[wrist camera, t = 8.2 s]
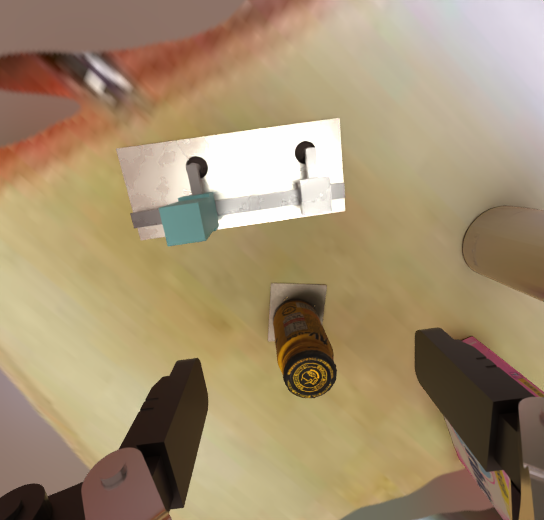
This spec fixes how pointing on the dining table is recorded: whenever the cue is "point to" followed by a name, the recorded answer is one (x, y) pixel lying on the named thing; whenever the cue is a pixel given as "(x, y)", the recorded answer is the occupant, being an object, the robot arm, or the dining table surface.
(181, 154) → the hole plate
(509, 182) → the dining table surface
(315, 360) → the condiment
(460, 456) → the gum box
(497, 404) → the robot arm
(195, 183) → the leg
